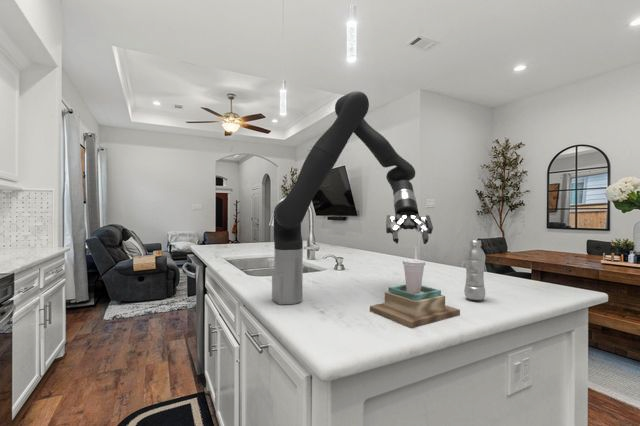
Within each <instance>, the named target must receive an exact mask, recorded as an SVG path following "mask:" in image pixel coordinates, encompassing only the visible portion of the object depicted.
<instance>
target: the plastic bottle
mask: <svg viewBox="0 0 640 426" xmlns="http://www.w3.org/2000/svg"><path fill="white" fill-rule="evenodd" d="M468 246H469V248H468V249H467V250H466V251H465V253H464V259H465V260H464V261H465V262H464V263H465V270H466V275H465V276H466V278H465V285H464V296H465V298H466V299H468V300H472V301H484V300H485V298H486V294H487V293H486V287H485V279H484V278H485V277H484V275H485V274H484V271H485V264H486V253H485V252H484V250H483V248H481V247H482V240H481V239H469V243H468Z"/></svg>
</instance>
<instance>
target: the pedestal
mask: <svg viewBox="0 0 640 426" xmlns="http://www.w3.org/2000/svg"><path fill="white" fill-rule="evenodd" d="M369 312H371V313H374V314H376V315H377V316H378V315H379V316H381V317H383V318H386V319H387V320H390V321H393V322H395V323H398V324H400V325H403V326H405V327H407V328H410V329H413V328H416V327H421V326H425V325H428V324H431V323H434V322H439V321H442V320H443V321H444V320H447V319H449V318H453V317H458V316H460V315H461V309H460V308H456V307H453V306H450V305H446V295H443V294H442V290H440V289H437V288H432V287H428V286H425V285H421V292H420V293H419V294H413V293H410V292H407V289H406V284H401V285H396V286H395V285H394V286H388V291H385V292H384V302H383V303H379V304H372V305H370V306H369Z"/></svg>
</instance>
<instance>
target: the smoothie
mask: <svg viewBox="0 0 640 426" xmlns="http://www.w3.org/2000/svg"><path fill="white" fill-rule="evenodd" d="M402 265H403V270H404V271H403V272H404V278H405V285H406V289H407V292H410V293H413V294H419V293H420V292H421V286H423V285H422V284H423V276H424V275H423V274H424V268H425V265H426V261H425V260H422V259H418V246H417V245H415V246H414V258H410V259H408V258H407V259H402Z"/></svg>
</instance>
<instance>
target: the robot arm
mask: <svg viewBox="0 0 640 426" xmlns="http://www.w3.org/2000/svg"><path fill="white" fill-rule="evenodd" d="M369 101H370V100H369V98H368V96H367V95H366V93H364V92H362V91H357V90H356V91H351V92H349V93H346V94H345V95H343V96H341V97H339V98H338V99H337V101H336V102H335V105H334V112H335V115H336V119H335V121H334V122H333V124H331V126H330V127H329V128H328V129H327V130H326V131H325V132H324V133H323V134H322V135H321V136H320V137H319V138H318V140H317V141H316V142H315V143H314V145H313V146H312V148H311V149H310V151H309V153H308V154H307V156H306V158H305V160H304V162H303V164H302V166H301V169H300V171H299V174H298V177H297V178H296V181H295V183H294V185H293V186H292V188H291V189H290V191H289V193H287V195H286V196H285V198H283V200H281V201H279V202H278V203H277V204H276V206H275V207H274V210H273V242H274V271H272V272H271V300H272V302H274V303H276V304H278V305H279V306H281V305H297V304H299V303H301V302H302V301H303V297H304V296H303V288H304V287H303V281H304V280H303V279H304V278H303V272H304V271H303V267H304V265H303V264H304V263H303V261H304V260H303V255H304V253H303V252H304V248H303V246H304V245H303V237H302V222H303V221H304V218H305V216H306V215H307V212H308V210H309V207H311V206H310V205H311V203H312V202H313V199H314V197H315V195H316V194H317V192H318V190H319V189H320V188H321V187H322V185H323V184H324V182H325V181H326V179H327V178H328V176H329V175H330V173H331V172H332V170H333V168H334V166H336V163H337V161H338V160H339V158H340V156H341V154H342V152H343V150H344V149H345V147H346V145H347V144H348V142H349V140H350V138H351V137H352V135H353V134H354V135H356V137H358V139H359V140H360V141H361V142H362V143H363V144H364V145H365V146H366V147H367V149H368V150H369V151H370V153H371V154H373V157H374V158H375V159H376V160H377V161H378V163H379V164H380V166H382V167H383V168H384V169H385V168H390V167H393V168H392V169H390V170H389V171H388V172H387V173H386V177H385V178H386V180H387V183H388V184H389V185H390V187H391V190H392V192H393V208H394V214H395V215H394V216H391V215H390V214H387V215H386V220H385V230H386V234H391V235H392V241H393V242H395V244H399V240H400V239H399V233H400V231H401V230H402V229H403V230H415V231H416V232H417V233H420V234H421V236H422V238H421V239H422V243H423V244H424V245H427V243H428V242H429V239H430V237H429V235H431V234H432V232H433V229H434V226H433V222H432V220H431V216H430V215H428V214H426V215H425V216H423V217H422V216H421V215H420V214H419V209H418V204H417V203H418V202H417V198H416V196H415V191H414V187H413V184H412V183H411V181H412V180H413V179H414V178H415V177H416V170H415V168H414V166H413V165H412V164H411V163H410V162H408V161H407V160H406V159H404V157H402V156H401V155H399V154H398V153H397V151H396V150H395V149H394V147H393V146H392V145H391V143H390V141H388V140H387V139H386V138H385V136H383V135H382V134H381V133H379V132H378V131H377V130H376V129H374V128H373V127H372V126H371V125H370V124H369V123H368V122H367V120H366V119H365V117H366V115H367V114H368V113H369V108H370V102H369ZM393 222H394V223H395V225H394V226H393V227H392V224H393Z"/></svg>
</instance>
